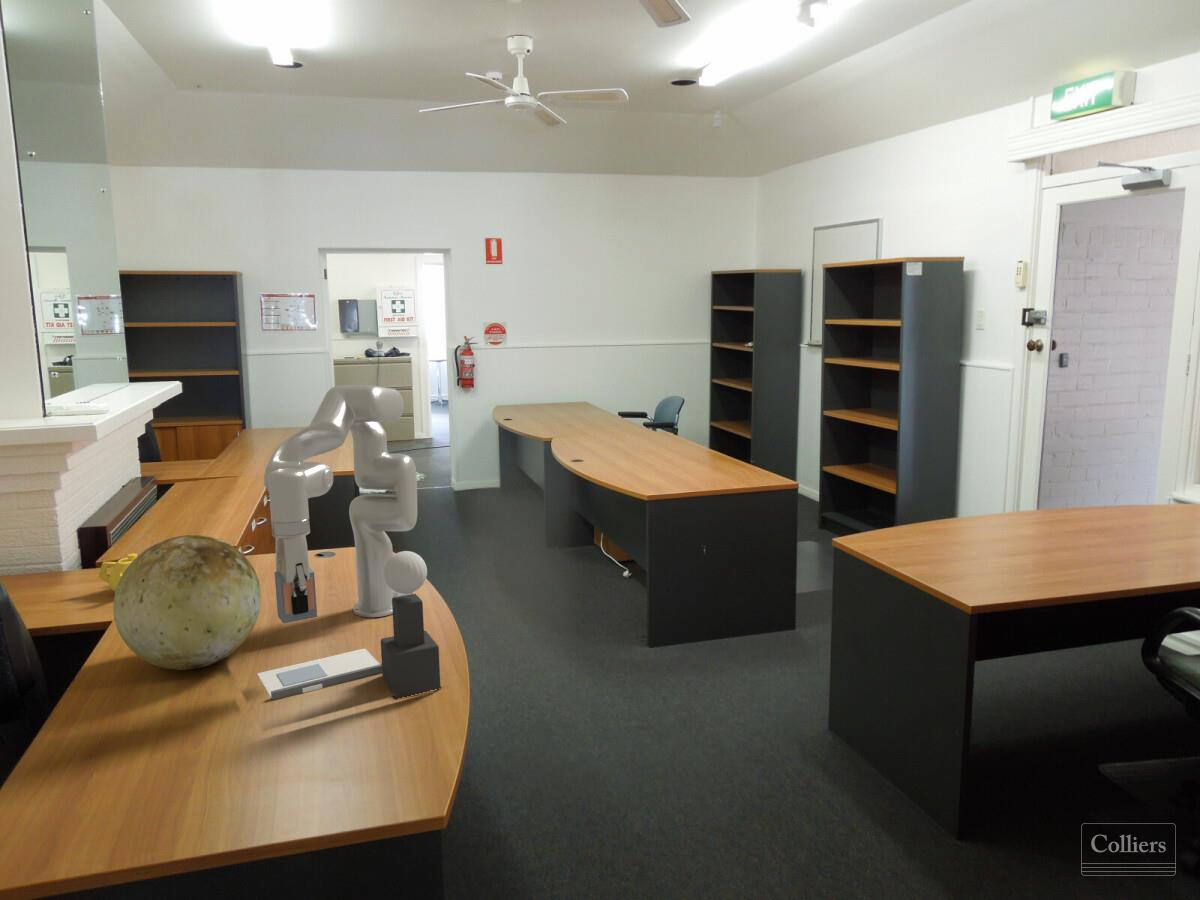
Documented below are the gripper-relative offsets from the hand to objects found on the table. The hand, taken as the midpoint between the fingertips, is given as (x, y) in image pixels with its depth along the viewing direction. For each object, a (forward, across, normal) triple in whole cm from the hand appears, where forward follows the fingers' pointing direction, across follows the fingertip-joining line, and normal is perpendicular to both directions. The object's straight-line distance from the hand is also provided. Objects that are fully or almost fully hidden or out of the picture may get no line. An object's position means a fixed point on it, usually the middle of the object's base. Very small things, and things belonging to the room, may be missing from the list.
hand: (296, 608), depth 180 cm
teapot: (+17, -88, -25) cm, 93 cm away
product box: (+2, 0, 0) cm, 2 cm away
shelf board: (+17, 0, +4) cm, 17 cm away
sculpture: (+17, +15, +19) cm, 30 cm away
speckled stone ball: (+17, -24, -18) cm, 34 cm away
